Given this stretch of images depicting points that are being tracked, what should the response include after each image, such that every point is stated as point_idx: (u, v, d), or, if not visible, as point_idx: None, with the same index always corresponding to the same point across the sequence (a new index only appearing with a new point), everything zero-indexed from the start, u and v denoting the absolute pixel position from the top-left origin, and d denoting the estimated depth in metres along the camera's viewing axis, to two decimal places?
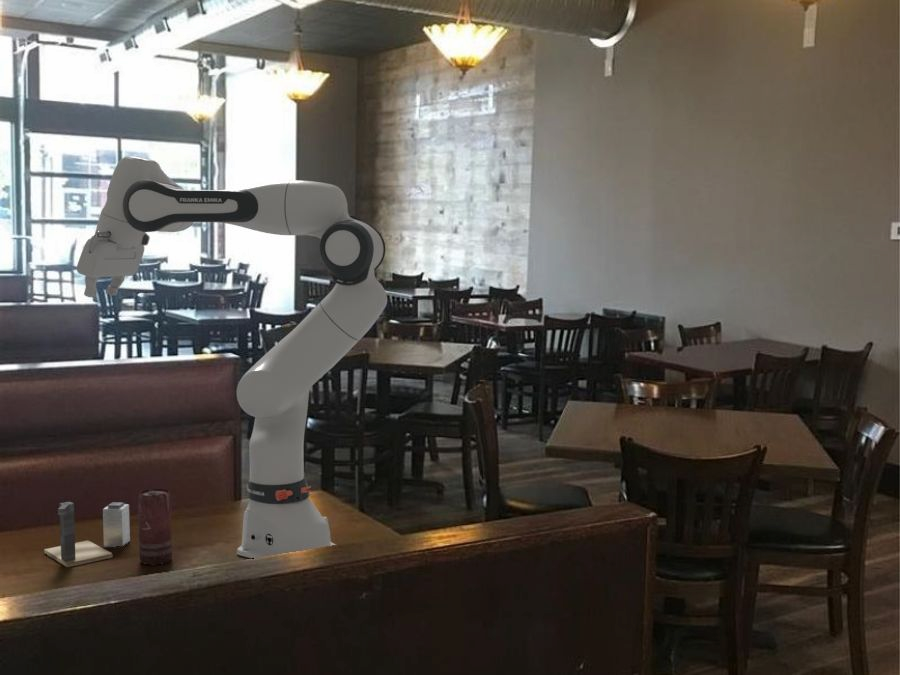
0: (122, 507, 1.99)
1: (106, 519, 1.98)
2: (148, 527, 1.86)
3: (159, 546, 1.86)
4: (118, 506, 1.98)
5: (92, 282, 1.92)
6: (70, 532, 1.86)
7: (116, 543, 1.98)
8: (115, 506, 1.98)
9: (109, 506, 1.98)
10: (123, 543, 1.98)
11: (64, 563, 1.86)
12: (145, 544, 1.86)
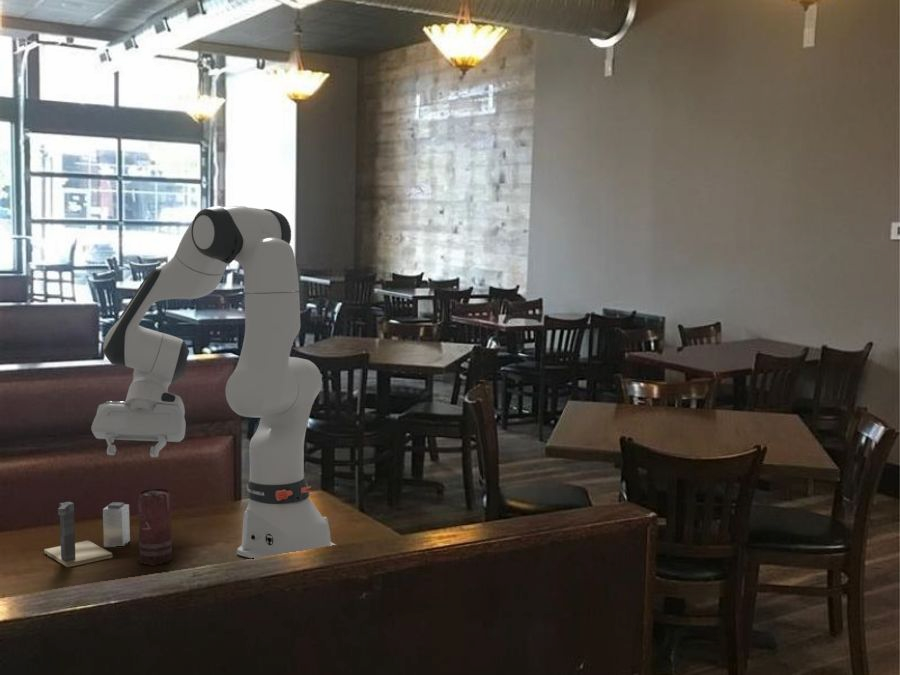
0: (122, 507, 1.99)
1: (106, 519, 1.98)
2: (148, 527, 1.86)
3: (159, 546, 1.86)
4: (118, 506, 1.98)
5: None
6: (70, 532, 1.86)
7: (116, 543, 1.98)
8: (115, 506, 1.98)
9: (109, 506, 1.98)
10: (123, 543, 1.98)
11: (64, 563, 1.86)
12: (145, 544, 1.86)
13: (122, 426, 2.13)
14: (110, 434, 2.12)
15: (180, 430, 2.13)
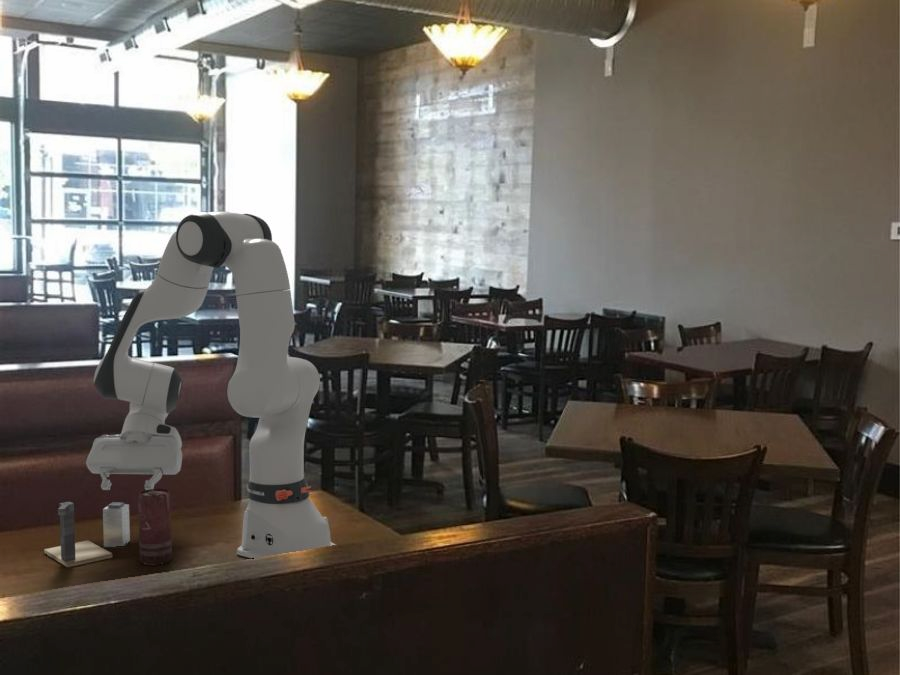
0: (122, 507, 1.99)
1: (106, 519, 1.98)
2: (148, 527, 1.86)
3: (159, 546, 1.86)
4: (118, 506, 1.98)
5: (100, 473, 2.07)
6: (70, 532, 1.86)
7: (116, 543, 1.98)
8: (115, 506, 1.98)
9: (109, 506, 1.98)
10: (123, 543, 1.98)
11: (64, 563, 1.86)
12: (145, 544, 1.86)
13: (117, 460, 2.08)
14: (105, 468, 2.08)
15: (175, 462, 2.08)
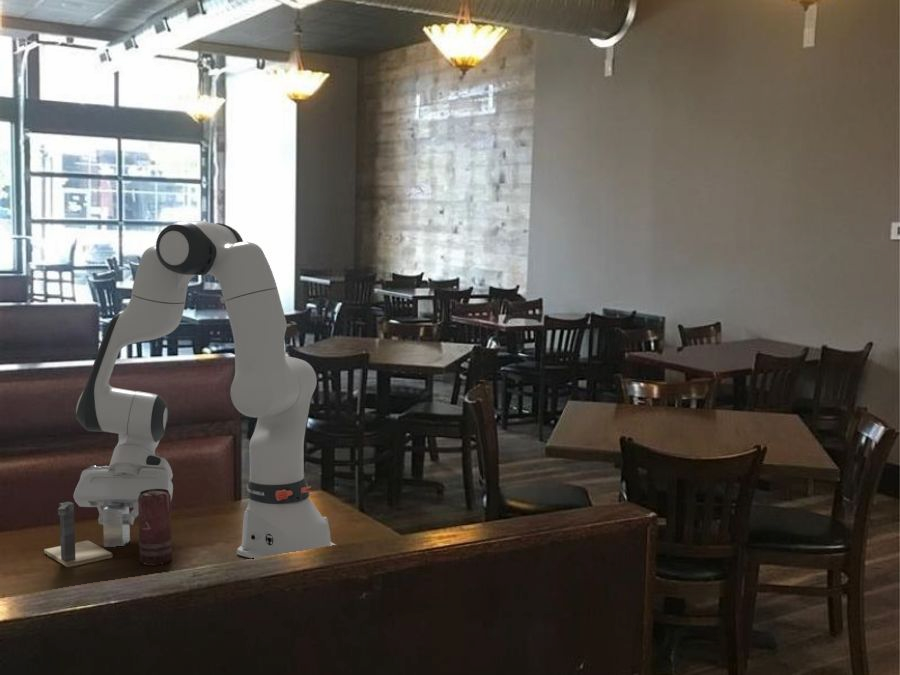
0: (122, 507, 1.99)
1: (106, 519, 1.98)
2: (148, 527, 1.86)
3: (159, 546, 1.86)
4: (118, 506, 1.98)
5: (97, 507, 2.01)
6: (70, 532, 1.86)
7: (116, 542, 1.98)
8: (115, 506, 1.98)
9: (109, 506, 1.98)
10: (123, 543, 1.98)
11: (64, 563, 1.86)
12: (145, 544, 1.86)
13: (105, 493, 2.02)
14: (102, 502, 2.01)
15: None
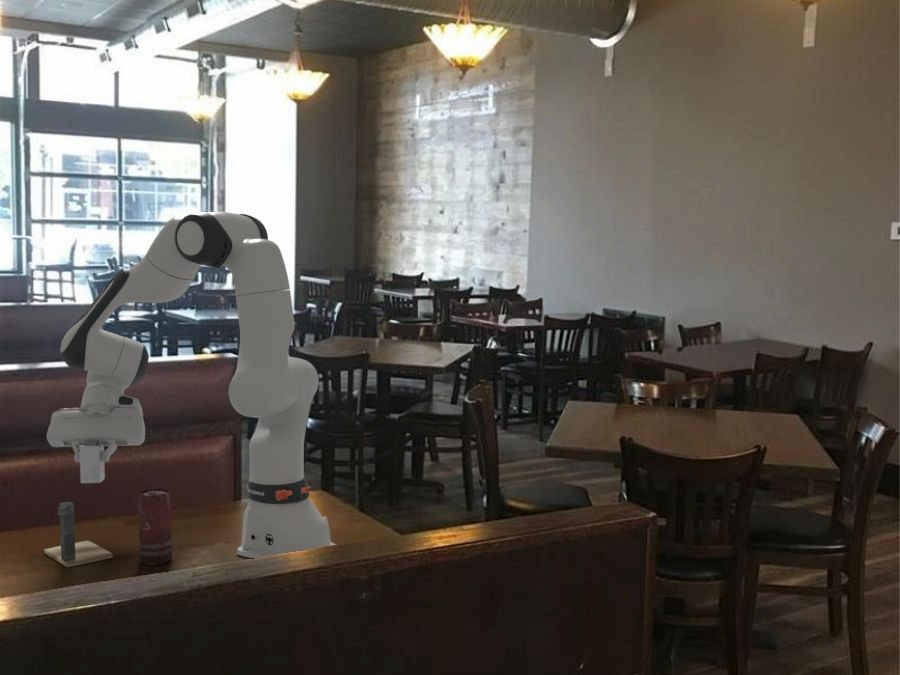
0: (98, 444, 2.04)
1: (83, 456, 2.03)
2: (148, 527, 1.86)
3: (159, 546, 1.86)
4: (95, 443, 2.04)
5: (72, 446, 2.06)
6: (70, 532, 1.86)
7: (93, 479, 2.04)
8: (92, 443, 2.04)
9: (85, 443, 2.03)
10: (100, 479, 2.04)
11: (64, 563, 1.86)
12: (145, 544, 1.86)
13: (79, 432, 2.07)
14: (76, 441, 2.06)
15: (140, 433, 2.08)
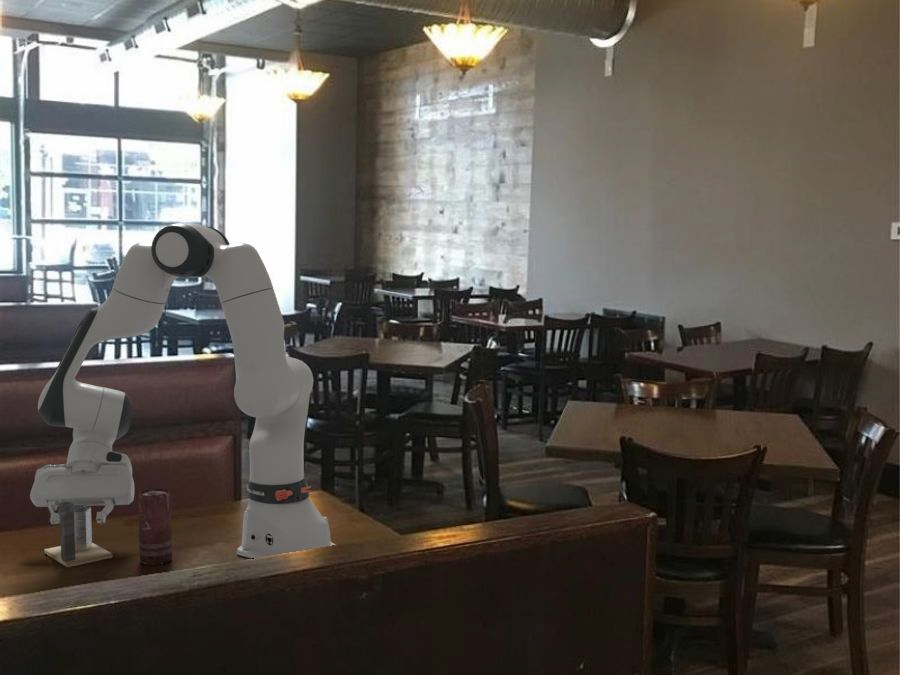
0: (85, 510, 1.94)
1: None
2: (148, 527, 1.86)
3: (159, 546, 1.86)
4: (81, 509, 1.93)
5: (48, 507, 1.94)
6: (70, 532, 1.86)
7: (79, 546, 1.93)
8: (78, 509, 1.93)
9: None
10: (87, 547, 1.93)
11: (64, 563, 1.86)
12: (145, 544, 1.86)
13: (64, 492, 1.96)
14: (53, 501, 1.95)
15: (129, 492, 1.97)
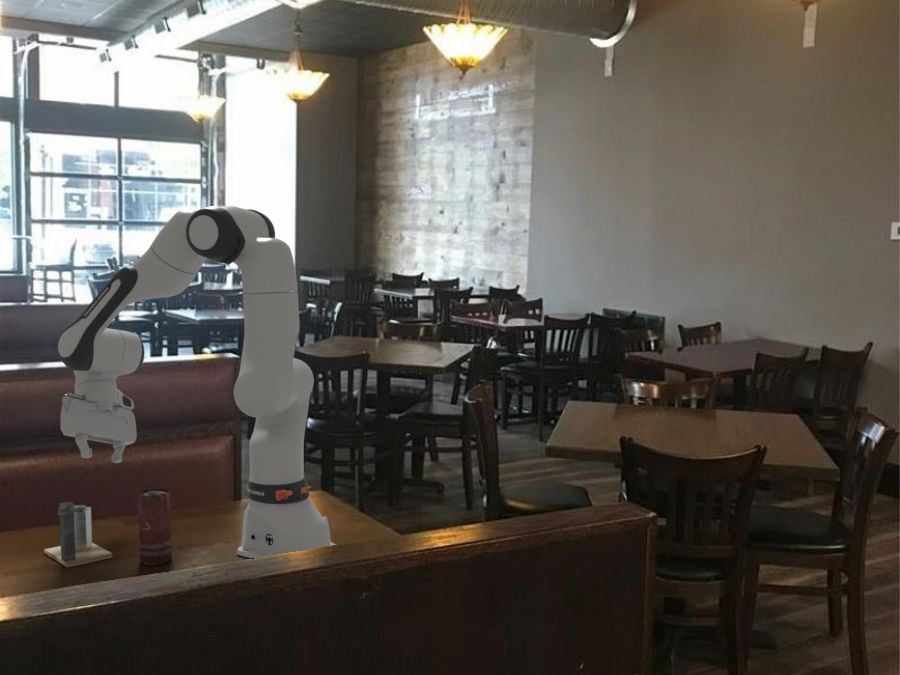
0: (85, 510, 1.94)
1: None
2: (148, 527, 1.86)
3: (159, 546, 1.86)
4: (81, 509, 1.93)
5: (82, 440, 2.02)
6: (70, 532, 1.86)
7: (79, 546, 1.93)
8: (78, 509, 1.93)
9: None
10: (87, 547, 1.93)
11: (64, 563, 1.86)
12: (145, 544, 1.86)
13: (96, 428, 2.05)
14: (86, 435, 2.03)
15: None
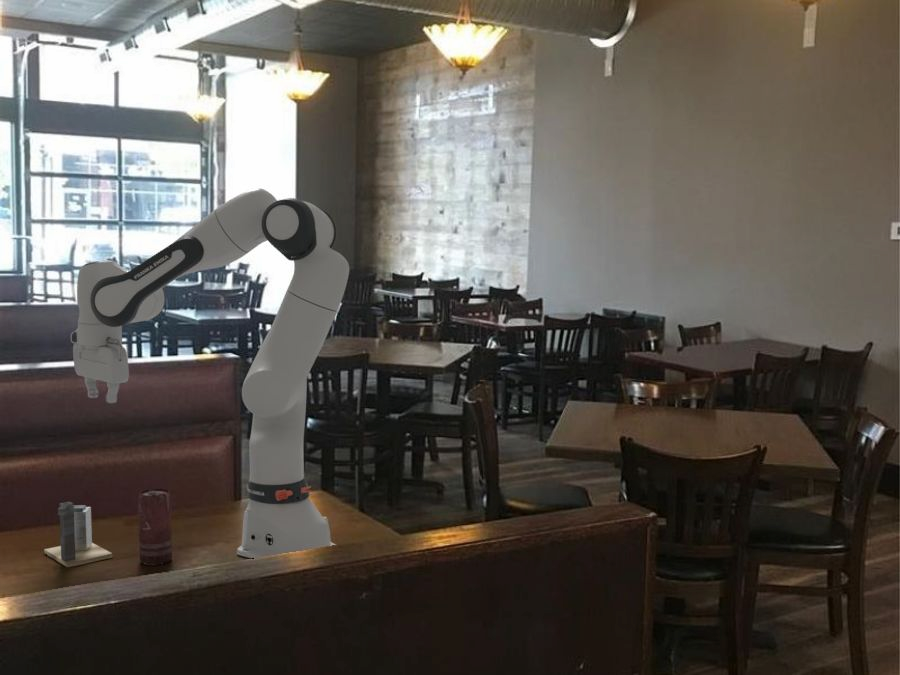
0: (85, 510, 1.94)
1: None
2: (148, 527, 1.86)
3: (159, 546, 1.86)
4: (81, 509, 1.93)
5: (117, 387, 2.02)
6: (70, 532, 1.86)
7: (79, 546, 1.93)
8: (78, 509, 1.93)
9: None
10: (87, 547, 1.93)
11: (64, 563, 1.86)
12: (145, 544, 1.86)
13: None
14: None
15: None
